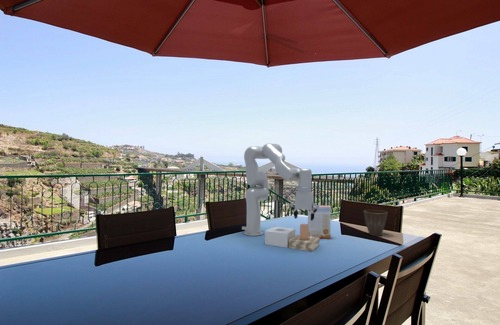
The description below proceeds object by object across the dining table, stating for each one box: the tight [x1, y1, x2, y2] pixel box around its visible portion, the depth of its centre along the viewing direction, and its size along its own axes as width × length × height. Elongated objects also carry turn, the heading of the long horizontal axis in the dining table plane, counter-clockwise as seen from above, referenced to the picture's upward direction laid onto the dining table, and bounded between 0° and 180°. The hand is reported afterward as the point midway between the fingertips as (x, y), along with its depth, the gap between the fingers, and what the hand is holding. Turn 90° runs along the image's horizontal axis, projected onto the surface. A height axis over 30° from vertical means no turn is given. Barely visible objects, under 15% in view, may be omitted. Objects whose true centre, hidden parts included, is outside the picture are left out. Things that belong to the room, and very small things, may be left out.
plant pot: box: [363, 209, 388, 237], centre depth 199 cm, size 15×15×16 cm
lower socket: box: [288, 234, 321, 252], centre depth 169 cm, size 14×14×4 cm
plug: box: [299, 223, 309, 241], centre depth 169 cm, size 4×4×12 cm
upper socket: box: [264, 226, 296, 249], centre depth 176 cm, size 14×14×8 cm
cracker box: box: [307, 204, 331, 240], centre depth 190 cm, size 14×6×21 cm, turn 84°
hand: (303, 219), depth 169 cm, fingers open, 9 cm apart
